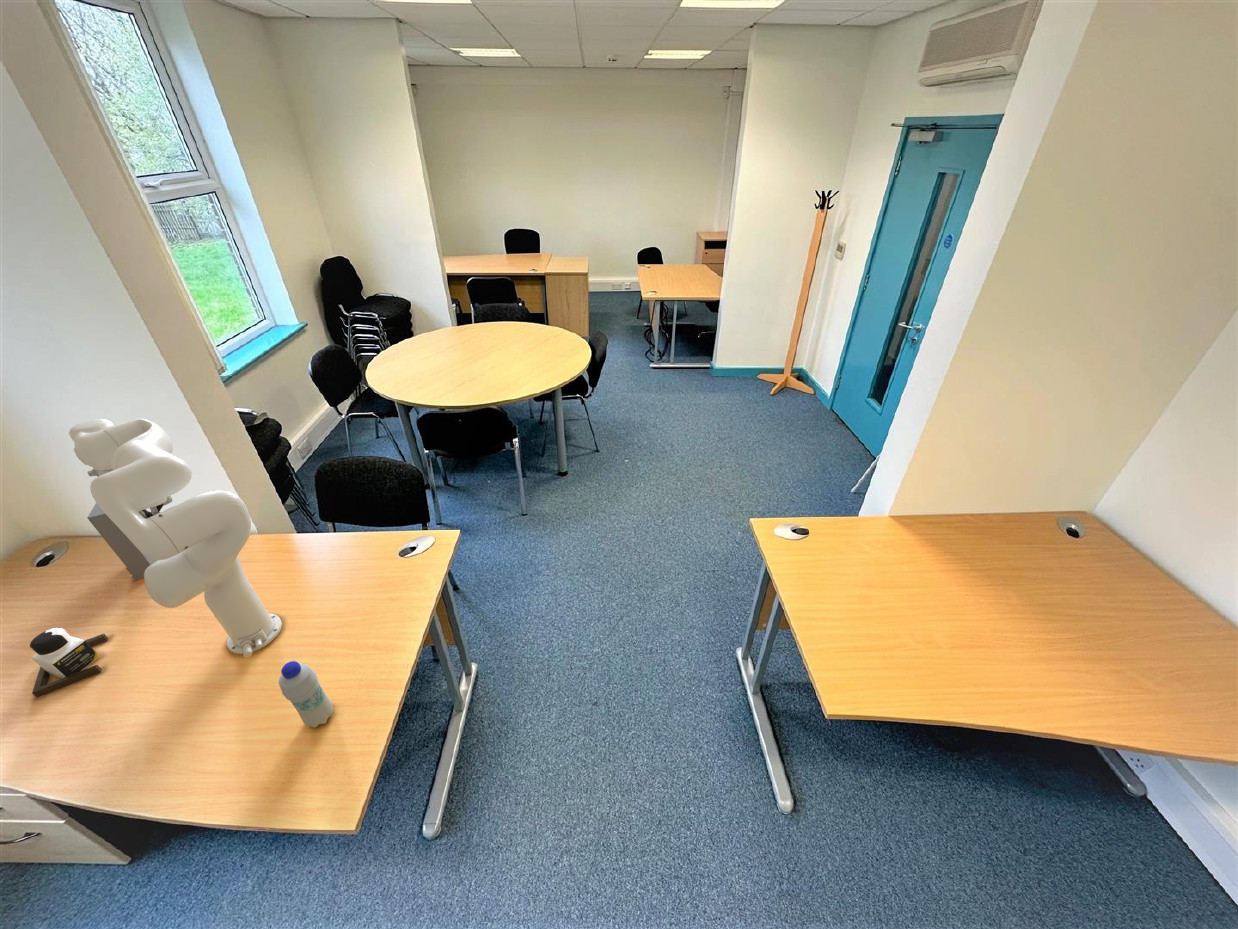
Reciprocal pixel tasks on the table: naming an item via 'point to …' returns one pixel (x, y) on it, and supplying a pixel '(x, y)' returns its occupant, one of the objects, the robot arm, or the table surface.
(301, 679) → the bottle
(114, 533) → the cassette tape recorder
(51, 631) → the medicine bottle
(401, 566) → the table surface
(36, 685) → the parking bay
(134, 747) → the table surface
